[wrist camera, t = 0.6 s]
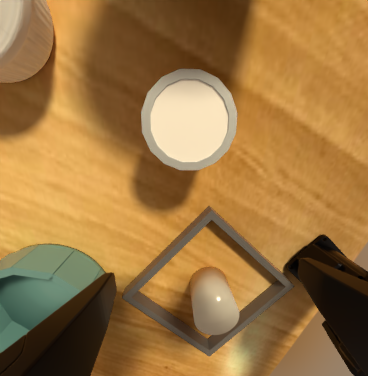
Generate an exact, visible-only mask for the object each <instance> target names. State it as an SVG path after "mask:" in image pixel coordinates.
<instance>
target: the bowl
mask: <svg viewBox="0 0 368 376" xmlns="http://www.w3.org/2000/svg"><path fill="white" fill-rule="evenodd" d="M104 273H106V272H105V271H104V270H103V268H102V267H101V266H100V265H99V264H98V263H97V262H96V261H95V260H94V259H92V258H91V257H90V256H88V255H86V254H85V253H83V252H81V251H79V250H77V249H74V248H71V247H68V246H64V245H58V244H38V245H33V246H28V247H26V248H23V249H21V250H19V251H17V252H14V253H11V254H8V255H7V256H5V257H4V258H3V259H1V260H0V353H1V352H2V351H4V350H5V349H6V348H8V347H9V346H10V345H12V344H13V343H14V342H16V341H17V340H18V339H20V338H21V337H22V336H23V335H25V334H27V332H29V331H30V330H31V329H33V328H34V327H35V326H36V325H38V324H39V323H40V322H42V321H43V320H44V319H46V318H47V317H48V316H49V315H51V314H52V313H53V312H55V311H56V310H57V309H59V308H60V307H61V306H62V305H64V304H65V303H66V302H68V301H69V300H70V299H71V298H73V297H74V296H75V295H77V294H78V293H79V292H81V291H82V290H83V289H84V288H86V287H87V286H88V285H90V284H91V283H92V282H94V281H95V280H96V279H97V278H99V277H100V276H101V275H103V274H104Z"/></svg>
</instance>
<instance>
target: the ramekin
mask: <svg viewBox="0 0 368 376" xmlns="http://www.w3.org/2000/svg"><path fill="white" fill-rule="evenodd" d="M53 36H54V32H53V23H52V17H51V14H50V9H49V7H48V5H47V2H46V0H0V82H1V83H14V82H20V81H22V80H26V79H27V78H30V77H32V76H33V75H34V74H36V73H37V72H38V71H39V70H40V69H41V68H42V67H43V66H44V65H45V63H46V62H47V60H48V58H49V56H50V52H51V50H52V45H53Z"/></svg>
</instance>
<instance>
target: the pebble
mask: <svg viewBox="0 0 368 376" xmlns="http://www.w3.org/2000/svg"><path fill="white" fill-rule="evenodd" d="M190 292H191V300H192V308H193V317H194V323H195V326H196V327H197V328H198V329H199V330H200V331H201V332H203V333H205V334H208V335H220V334H223V333H226V332H228V331H230V330H231V329H232V328H233V327H234V326H235V325H236V324H237V322H238V320H239V310H238V307H237V304H236V302H235V299H234V297H233V294H232V292H231V289H230V287H229V284H228V282H227V279H226V276H225V274H224V273H223V272H222V271H221V270H220V269H218V268H215V267H204V268H201V269H199V270H198V271H196V272H195V273H194V274H193V275H192V277H191V279H190Z"/></svg>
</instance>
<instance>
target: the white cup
mask: <svg viewBox="0 0 368 376" xmlns="http://www.w3.org/2000/svg"><path fill="white" fill-rule="evenodd" d="M141 121H142V134H143V136H144V138H145V140H146V142H147V144H148V147H149V149H150V151H151V152H152V153H153V154H154V155H155V156H156V157H157V158H159V159H160V160H161V161H162V162H163V163H164V164H166V165H168V166H171V167H174V168H176V169H179V170H200V169H202V168H205V167H207V166H209V165H212V164H214V163H216V162H217V161H218V160H219V159H220V158H221V157H222V156H223V155H224V154H225V153H226V152H227V151H228V149H229V147H230V145H231V143H232V140H233V138H234V136H235V134H236V125H237V111H236V107H235V104H234V101H233V98H232V95H231V93H230V92H229V90H228V89H227V88H226V87H225V86H224V84H223V83H222V82H221V81H220V80H219V78H217V77H215V76H213V75H211V74H209V73H207V72H205V71H203V70H201V69H178V70H176V71H174V72H172V73H169V74H167V75H165V76H163V77H161V78H160V79H159V80H158V81H157V83H156V84H155V85H154V86H153V87H152V88H151V89H150V91H149V92H148V93H147V96H146V99H145V102H144V105H143V108H142V111H141Z"/></svg>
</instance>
